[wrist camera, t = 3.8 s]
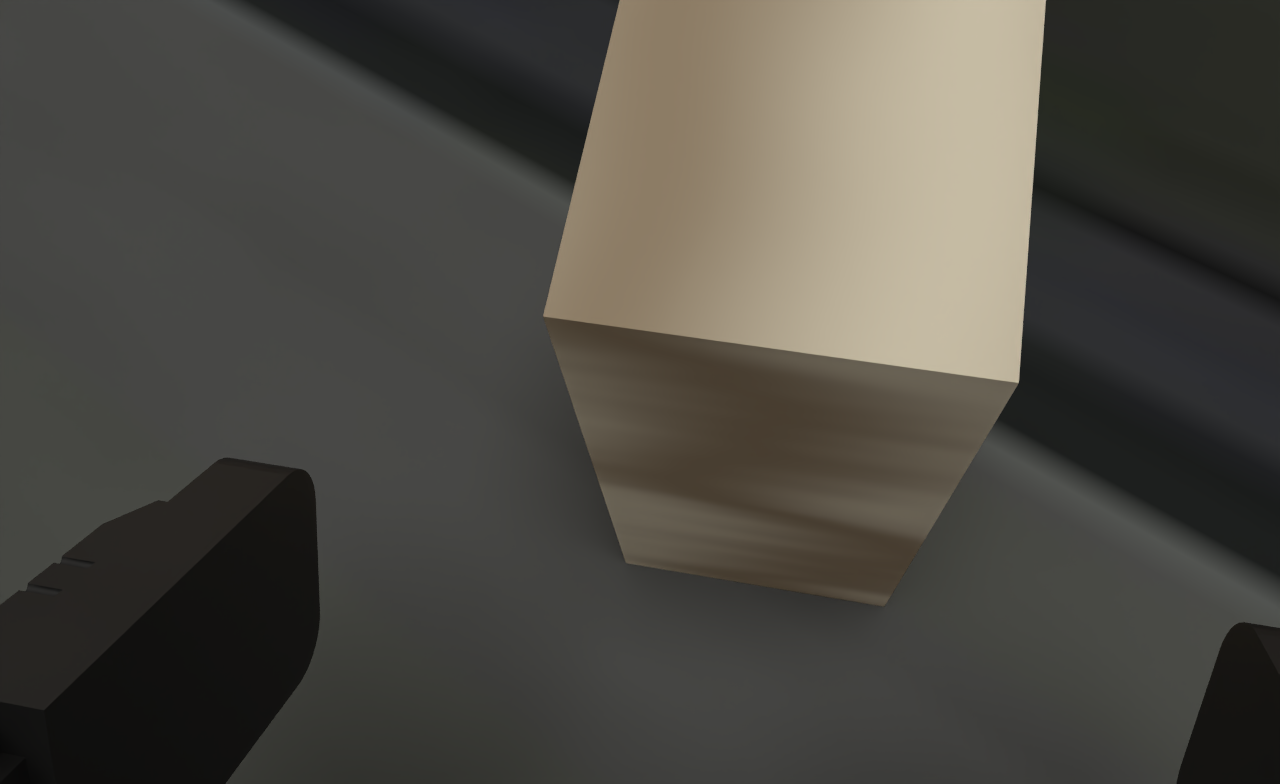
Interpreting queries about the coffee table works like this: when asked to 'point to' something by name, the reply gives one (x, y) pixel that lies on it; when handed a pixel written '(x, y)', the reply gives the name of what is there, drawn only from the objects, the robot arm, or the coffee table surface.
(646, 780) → the coffee table surface
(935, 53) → the birch block
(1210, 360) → the coffee table surface
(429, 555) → the coffee table surface
